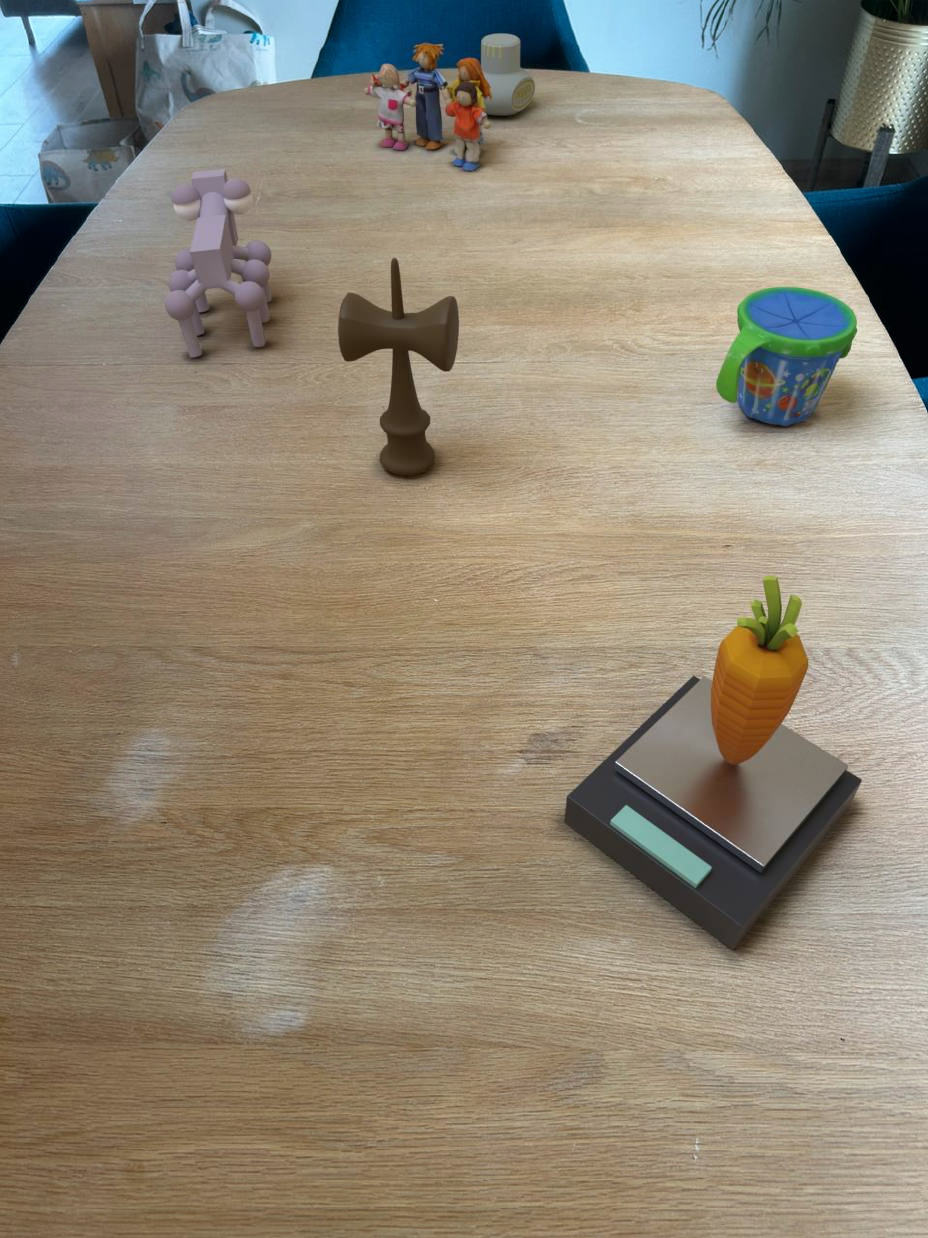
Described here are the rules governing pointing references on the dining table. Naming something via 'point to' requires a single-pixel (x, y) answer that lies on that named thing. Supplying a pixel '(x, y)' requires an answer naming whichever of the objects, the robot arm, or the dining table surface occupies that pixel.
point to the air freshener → (505, 75)
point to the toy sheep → (217, 256)
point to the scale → (691, 844)
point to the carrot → (757, 676)
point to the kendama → (401, 364)
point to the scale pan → (730, 779)
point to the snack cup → (785, 352)
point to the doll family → (434, 104)
